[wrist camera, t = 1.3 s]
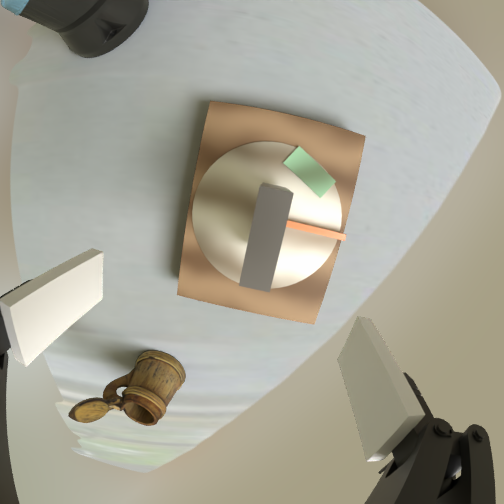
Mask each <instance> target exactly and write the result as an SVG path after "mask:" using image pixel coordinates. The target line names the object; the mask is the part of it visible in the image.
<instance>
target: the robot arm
mask: <svg viewBox="0 0 504 504" xmlns="http://www.w3.org/2000/svg"><path fill="white" fill-rule="evenodd" d="M1 5H2V7H4V8H5V9H7V10H9V11H11V12H13V13H14V14H15V15H20V16H22V17H25V18H27V19H30V20H32V21H34V22H37V23H39V24H41V25H43V26H45V27H48V28H50V29H52V30H54V31H56V32H58V33H59V34H60V36H61V37H62V38H63V40H64V41H65V42H66V44H67V45H68V47H69V49H70V50H71V51H72V52H74V53H75V54H78V55H80V56H82V57H85V58H92V57H97V56H100V55H103V54H105V53H107V52H109V51H111V50H113V49H114V48H116V47H117V46H119V45H120V44H121V43H123V42H124V41H125V40H126V39H127V38H128V37H130V36H131V35H132V34H133V32H134V31H135V30H136V29H137V28H138V27H139V25H140V24H141V22H142V21H143V19H144V17H145V15H146V13H147V10H148V5H149V2H148V0H1ZM102 281H103V252H102V251H99V250H96V249H93V248H92V249H90V250H88V251H86V252H84V253H82V254H80V255H78V256H76V257H74V258H72V259H70V260H68V261H66V262H64V263H62V264H60V265H58V266H56V267H55V268H53V269H51V270H49V271H47V272H45V273H44V274H42V275H40V276H38V277H36V278H34V279H32V280H28V281H26V282H24V283H23V284H21V285H20V286H18V287H16V288H14V290H11V291H9V292H7V293H5V294H4V295H2V296H1V297H0V504H19V501H18V497H17V493H16V489H15V484H14V479H13V474H12V469H11V462H10V455H9V448H8V439H7V438H8V437H7V424H6V382H7V367H8V354H7V350H8V349H9V348H11V349H12V352H13V355H14V358H15V359H16V360H17V361H19V362H20V363H21V364H23V365H24V366H28V365H29V364H30V363H31V362H32V361H33V360H34V359H35V358H36V357H37V356H38V355H39V354H40V353H41V352H42V351H43V350H45V349H46V348H47V347H48V346H49V345H50V344H51V343H52V342H53V341H54V340H55V339H57V338H58V337H59V336H60V335H61V334H62V333H63V332H64V331H65V330H67V329H68V328H69V327H70V326H71V325H72V324H73V323H75V322H76V321H77V320H78V319H79V318H80V317H82V316H83V315H84V314H85V313H86V312H87V311H89V310H90V309H91V308H92V307H93V306H94V305H96V304H97V303H98V302H99V301H100V300H102V299H103V290H102ZM338 363H339V366H340V369H341V372H342V376H343V379H344V382H345V385H346V389H347V392H348V396H349V399H350V402H351V406H352V409H353V413H354V417H355V420H356V424H357V427H358V431H359V435H360V438H361V442H362V446H363V450H364V454H365V458H366V461H378V460H383V459H385V458H386V457H387V456H388V455H389V454H390V453H391V452H392V453H393V456H394V458H393V459H392V460H391V461H390V462H389V463H388V464H387V465H386V466H385V467H384V468H382V469H381V470H380V471H379V473H380V474H381V473H382V472H383V471H384V473H383V475H382V477H381V478H380V480H379V482H378V483H377V485H376V487H375V488H374V490H373V491H372V493H371V495H370V496H369V498H368V499H367V501H366V502H365V504H496V502H495V501H496V500H495V479H494V469H493V460H492V453H491V447H490V441H489V436H488V434H487V432H486V431H485V429H484V428H483V427H481V426H479V425H476V424H473V425H471V426H469V427H468V428H467V430H466V431H465V432H464V433H459V432H454V431H453V429H452V427H451V426H450V424H449V423H448V422H446V421H445V420H443V419H440V418H434V417H433V415H432V413H431V411H430V409H429V408H428V406H427V404H426V402H425V400H424V398H423V397H422V396H421V393H420V391H419V390H418V388H417V386H416V384H415V383H414V381H413V379H411V378H410V377H409V376H408V375H407V374H406V373H403V372H402V370H401V369H400V367H399V365H398V363H397V362H396V360H395V358H394V357H393V355H392V353H391V351H390V350H389V348H388V346H387V345H386V343H385V341H384V340H383V338H382V336H381V335H380V333H379V331H378V330H377V328H376V326H375V325H374V323H373V322H372V320H371V319H370V318H365V317H359V316H358V317H357V319H356V322H355V323H354V326H353V328H352V330H351V332H350V335H349V337H348V339H347V341H346V343H345V345H344V347H343V349H342V351H341V353H340V355H339V357H338ZM460 470H461V476H460V477H459V478H457V479H456V473H458V472H459V471H460Z"/></svg>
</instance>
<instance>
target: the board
mask: <svg viewBox="0 0 504 504" xmlns="http://www.w3.org/2000/svg"><path fill="white" fill-rule="evenodd" d="M365 137H366V136H364V135H361V134H358V133H355V132H352V131H349V130H346V129H342V128H339V127H336V126H332V125H329V124H325V123H322V122H318V121H314V120H311V119H307V118H303V117H299V116H294V115H290V114H286V113H281V112H276V111H271V110H266V109H261V108H256V107H250V106H244V105H237V104H231V103H223V102H215V101H210V105H209V109H208V113H207V117H206V121H205V126H204V130H203V135H202V139H201V144H200V149H199V154H198V159H197V164H196V169H195V174H194V179H193V185H192V191H191V196H190V202H189V208H188V215H187V221H186V228H185V234H184V241H183V249H182V256H181V264H180V273H179V281H178V291H177V295H180V296H183V297H187V298H191V299H195V300H199V301H203V302H208V303H212V304H216V305H220V306H225V307H229V308H234V309H238V310H243V311H247V312H252V313H257V314H261V315H266V316H271V317H276V318H281V319H287V320H292V321H297V322H303V323H309V324H314V323H315V321H316V318H317V315H318V312H319V309H320V306H321V304H322V301H323V298H324V295H325V292H326V289H327V286H328V282H329V279H330V276H331V273H332V270H333V267H334V263H335V260H336V257H337V253H338V250H339V246H340V243H341V240H339V239H335V238H331V237H327V236H323V235H319V234H314V233H310V232H306V231H302V230H297V229H293V228H289V227H286V229H285V233H284V237H283V241H282V245H281V249H280V253H279V257H278V261H277V265H276V269H275V273H274V277H273V281H272V285H271V289H270V292H265V291H260V290H256V289H251V288H246V287H242V286H239V282H240V277H241V272H242V267H243V262H244V258H245V253H246V248H247V243H248V239H249V234H250V229H251V225H252V220H253V215H254V211H255V206H256V201H257V197H258V192H259V187H260V185H261V184H262V183H263V182H264V183H269V184H273V185H278V186H282V187H286V188H287V189H289V190H290V191H291V192H293V193H294V195H293V199H292V203H291V208H290V212H289V216H288V220H290V221H294V222H298V223H303V224H307V225H311V226H315V227H319V228H323V229H327V230H331V231H335V232H339V233H343V232H344V229H345V225H346V221H347V217H348V213H349V209H350V206H351V202H352V197H353V193H354V189H355V185H356V180H357V176H358V171H359V167H360V162H361V157H362V152H363V147H364V142H365Z"/></svg>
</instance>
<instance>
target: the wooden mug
mask: <svg viewBox="0 0 504 504" xmlns="http://www.w3.org/2000/svg"><path fill="white" fill-rule="evenodd" d="M185 378H186V375H185V371H184V368H183V367H182V365H181V364H180V362H179V361H177V360H176V359H175V358H174V357H172V356H171V355H169V354H166V353H164V352H160V351H146V352H144V353H142V354H141V355H140V356H139V357H138V359H137V361H136V364H135V368H134V369H133V370H132V371H131V372H130V373H129V374H127V375H125V376H122V377H120V378H118V379H116V380H114V381H112V382H110V383H109V384H108V385H107V386H106V388H105V390H104V392H103V398H98V397H96V398H89V399H86V400H83V401H81V402H79V403H78V404H76V405H75V406H74V407H73V408H72V409H71V411H70V412H69V417H70V418H72V419H73V420H75V421H78V422H82V423H89V422H93V421H96V420H98V419H100V418H102V417H103V416H104V415H105V414H106V413H107V412H108V411H109V410H112V409H117V410H120V411H122V410H124V412H125V413H126V415H127V416H128V417H129V418H131V419H132V420H134V421H135V422H138V423H140V424H143V425H146V426H151V425H155V424H156V423H157V422H158V420H159V419H161V418H162V417H163V416H164V414H165V412H166V407H167V405H168V404H169V402H170V401H171V399H172V397H173V396H174V394H175V393H176V391H177V390H179V389H180V387H181V386H182V384H183V383H184V381H185ZM120 387H127V388H126V389H125V390H124V391H123V392H122V397H121V396H119V395H117V392H116V390H117V389H118V388H120Z"/></svg>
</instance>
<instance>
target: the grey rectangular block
mask: <svg viewBox="0 0 504 504" xmlns="http://www.w3.org/2000/svg"><path fill="white" fill-rule="evenodd" d="M293 195H294V193H293V192H291V191H290V190H289V189H287V188H286V187H282V186H278V185H273V184H269V183H264V182H263V183H262V184H261V185H260V187H259V192H258V197H257V201H256V206H255V211H254V215H253V220H252V225H251V229H250V234H249V239H248V243H247V248H246V253H245V258H244V262H243V267H242V272H241V277H240V282H239V286H242V287H246V288H251V289H256V290H260V291H265V292H270V289H271V285H272V281H273V277H274V273H275V269H276V265H277V261H278V257H279V253H280V249H281V245H282V241H283V237H284V233H285V229H286V227H289V228H293V229H297V230H302V231H306V232H310V233H314V234H319V235H323V236H327V237H331V238H335V239H339V240H343V241H345V238H346V234H343V233H339V232H335V231H331V230H327V229H323V228H319V227H315V226H311V225H307V224H303V223H298V222H294V221H290V220H288V216H289V212H290V208H291V203H292V199H293Z"/></svg>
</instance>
